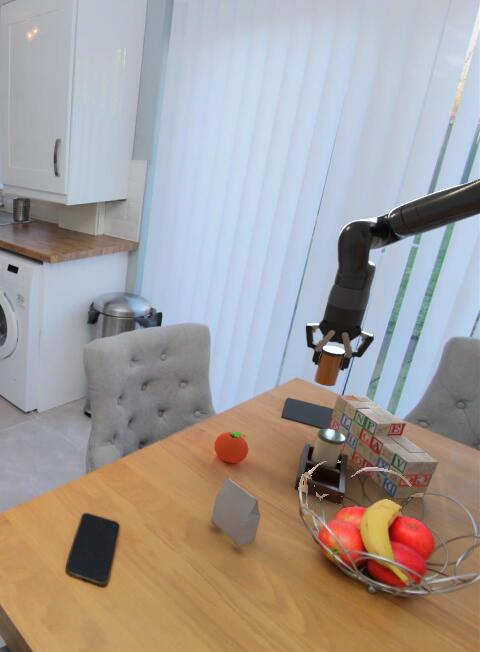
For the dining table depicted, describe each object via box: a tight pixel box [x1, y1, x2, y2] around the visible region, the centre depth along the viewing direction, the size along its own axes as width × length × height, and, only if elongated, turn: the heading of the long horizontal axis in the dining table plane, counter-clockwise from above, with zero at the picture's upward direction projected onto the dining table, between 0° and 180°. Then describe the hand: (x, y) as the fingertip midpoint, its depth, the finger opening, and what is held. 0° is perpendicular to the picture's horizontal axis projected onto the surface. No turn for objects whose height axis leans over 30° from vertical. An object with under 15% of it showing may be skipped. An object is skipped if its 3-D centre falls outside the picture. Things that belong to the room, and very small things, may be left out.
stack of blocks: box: [328, 394, 439, 499], centre depth 106 cm, size 21×6×12 cm, turn 178°
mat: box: [281, 397, 334, 429], centre depth 127 cm, size 14×12×1 cm
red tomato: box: [213, 431, 249, 464], centre depth 111 cm, size 8×7×7 cm
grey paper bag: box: [210, 477, 261, 547], centre depth 90 cm, size 4×7×10 cm, turn 19°
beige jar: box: [310, 428, 345, 469], centre depth 106 cm, size 5×5×9 cm
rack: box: [293, 442, 349, 505], centre depth 104 cm, size 8×15×3 cm, turn 142°
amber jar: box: [313, 345, 345, 387], centre depth 121 cm, size 5×5×9 cm
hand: (329, 366), depth 121 cm, fingers closed on amber jar, 4 cm apart
